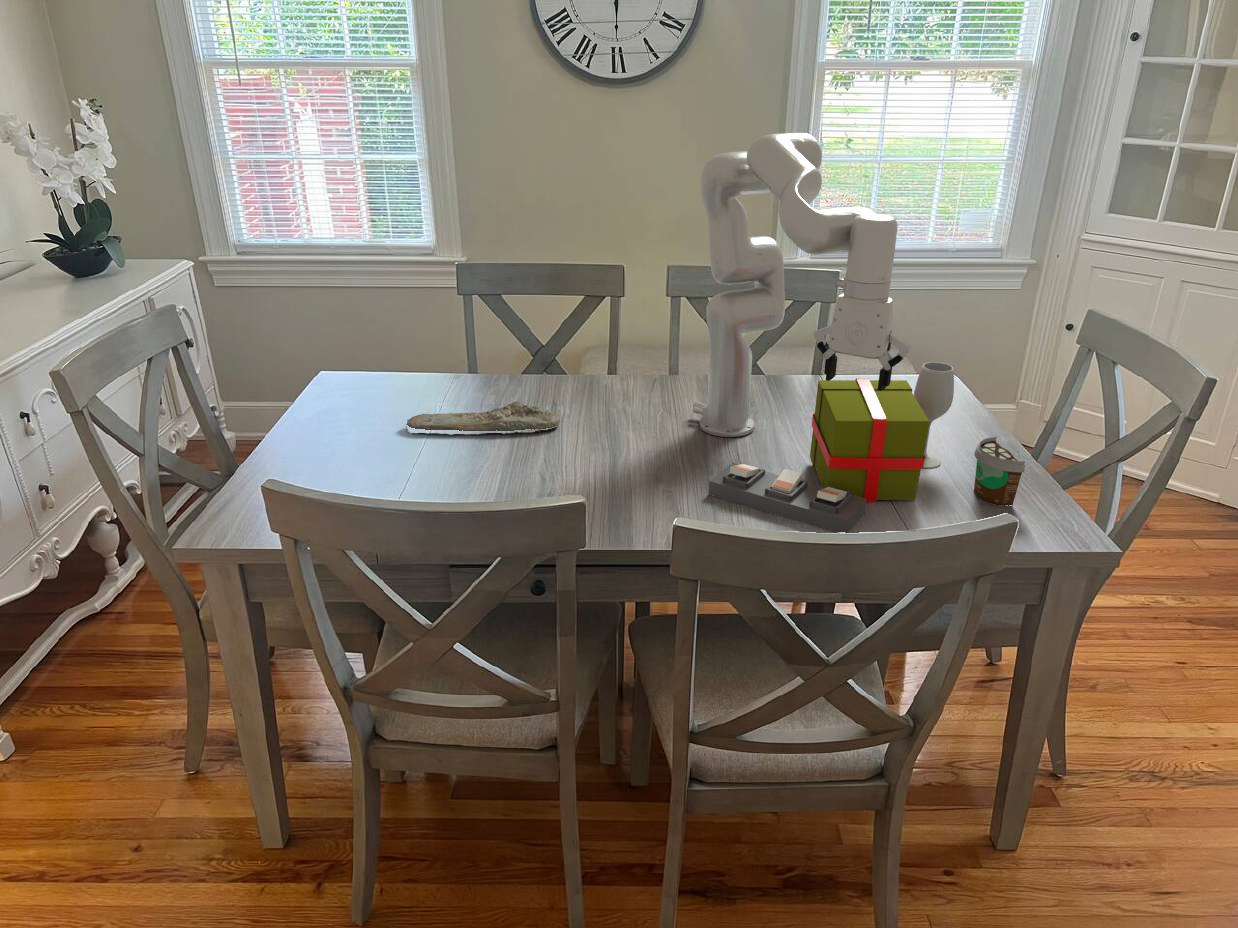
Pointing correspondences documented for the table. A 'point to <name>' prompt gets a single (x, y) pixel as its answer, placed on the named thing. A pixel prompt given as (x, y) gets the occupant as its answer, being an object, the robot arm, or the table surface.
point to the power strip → (788, 500)
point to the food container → (996, 473)
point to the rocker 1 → (744, 470)
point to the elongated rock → (489, 419)
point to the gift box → (869, 438)
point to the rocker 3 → (831, 494)
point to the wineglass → (934, 397)
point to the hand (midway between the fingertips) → (855, 383)
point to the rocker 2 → (787, 481)
